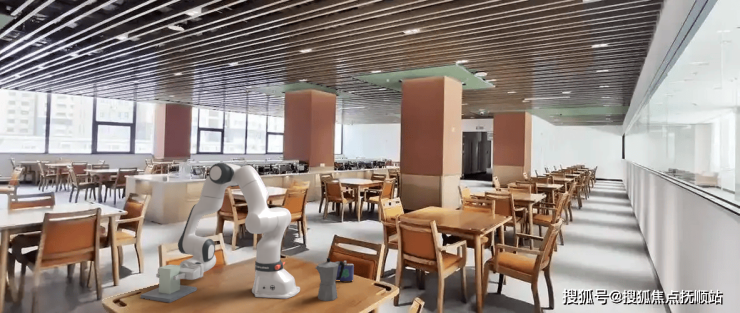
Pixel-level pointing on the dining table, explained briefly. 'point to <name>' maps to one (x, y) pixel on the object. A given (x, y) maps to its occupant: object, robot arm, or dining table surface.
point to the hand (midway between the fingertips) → (165, 277)
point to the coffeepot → (328, 279)
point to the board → (168, 297)
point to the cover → (169, 279)
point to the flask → (346, 272)
